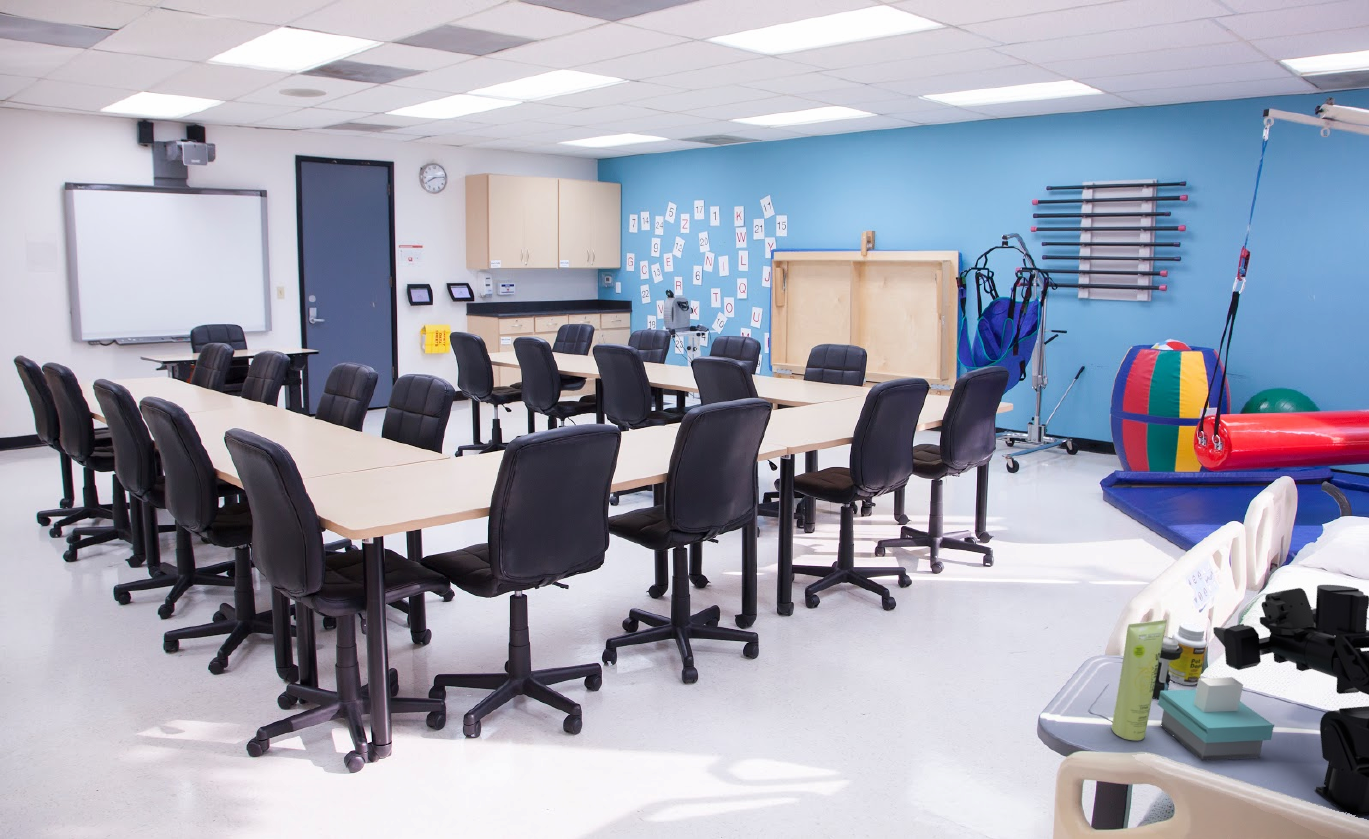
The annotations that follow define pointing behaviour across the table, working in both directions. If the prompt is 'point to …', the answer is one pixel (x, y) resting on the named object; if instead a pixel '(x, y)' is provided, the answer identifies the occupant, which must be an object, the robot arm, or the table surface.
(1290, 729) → the table surface
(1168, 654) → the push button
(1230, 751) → the storage box
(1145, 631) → the tube
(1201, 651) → the supplement bottle
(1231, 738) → the lid
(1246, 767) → the table surface
